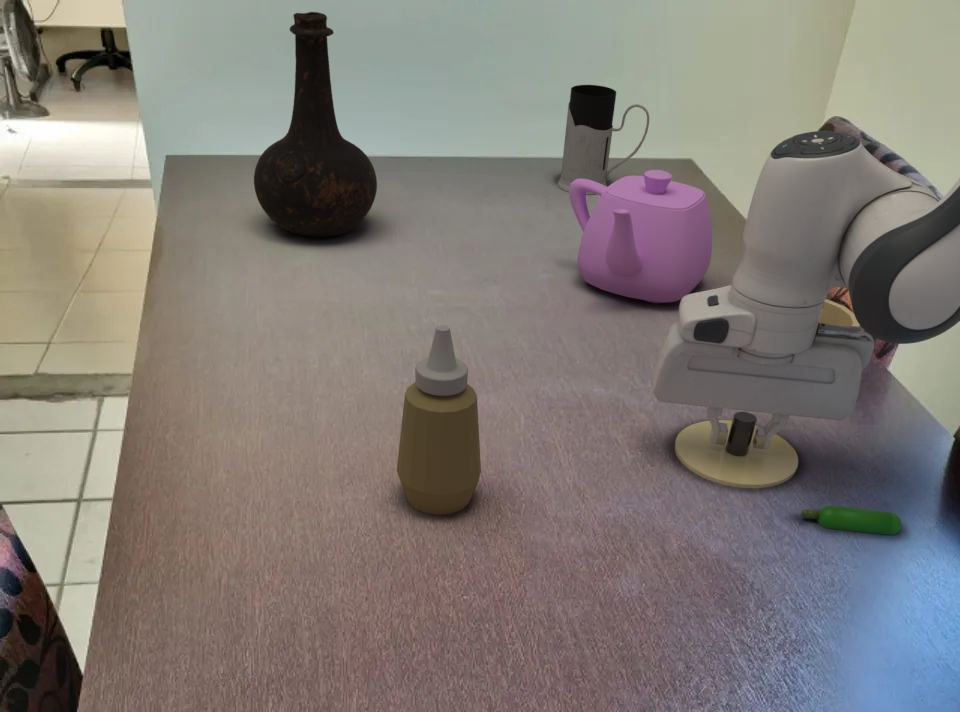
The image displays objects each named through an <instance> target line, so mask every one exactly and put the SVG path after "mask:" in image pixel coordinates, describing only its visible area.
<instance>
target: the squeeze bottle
mask: <svg viewBox="0 0 960 712" xmlns="http://www.w3.org/2000/svg"><path fill="white" fill-rule="evenodd" d="M414 368H415V369H414V371H415V373H414V376H415V380H414V381H415V382H413V383H412V384H410V385H409V386H408V387H407V388H406V391H405V393H404V398H403V399H404V400H403V409H402V416H401V417H402V418H401V427H400V437H399V445H398V454H397V455H398V456H397V462H396V463H397V464H396V473H397V476H398V479H399V482H400V483H401V486H402V489H403V491H404V495H405V497H406V499H407V503H408V504H409V505H410V506H411V507H412V508H414V509H415V510H417V511H419V512H422V513H424V514H426V515H427V514H428V515H434V516H435V515H436V516H443V515H453V514H454V513H457V512H460V511H462V510H463V509H464V508H466V507H467V506H468V505H469V503H470V501H471V498H472V496H473V494H474V492H475V490H476V487H477V485H478V483H479V481H480V477H481V474H482V464H481V463H482V462H481V447H480V427H479V426H480V425H479V408H478V407H479V406H478V395H477V393H476V391H475V389H474V387H472V386H471V385H470V384H469V383H468V381H469V380H468V378H469V377H468V376H469V368H468V366H467V364H466V363H465V362H464V361H462V360H460V359H459V358H456V354H455V350H454V344H453V338H452V333H451V328H450V326H448V325H446V324H439V325H437V326H435V331H434V334H433V339H432V343H431V347H430V351H429V355H428V357H425V358H422V359H420V360H419V361H418V362H417V363H416V366H415V367H414Z"/></svg>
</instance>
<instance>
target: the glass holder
mask: <svg viewBox="0 0 960 712" xmlns="http://www.w3.org/2000/svg"><path fill="white" fill-rule="evenodd" d="M616 98H617V91H616V90H615V89H614V88H611V87H608V86H604V85H597V84H578V85H574V86H572V87H571V88H570V95H569V102H568V104H567V105H568V106H567V113H566V123H565V134H564V142H563V143H564V144H563V153H562V162H561V173H560V177H559V180H558V181H557V187H558V188H560V189H561V190H562V191H565V192H566V193H569V188H570V185H571V183H572V182H573V181H574V180H576V179H581V178H582V179H588V180H592V181H595V182H597V183H600V184H602V185H605V186H607V187H608V184H607V180H608V179H609V174H610V173H611V172H612V171H614V170H615V169H616V168H618V167H619V166H621V165H623V164H624V163H625V162H627V161H628V160H629V159H631V158H632V157H633V156H635V155H636V154H637V152H638V151H639V150H640V148H641V146H642V145H643V143H644V141H645V140H646V136H647V134H648V130H649V125H650V114H649V111H648V109H647V108H646V107H645V106H644V105H642V104H638V103H635V104H631V105H629V106H628V107H627V108H626V109H625V110H624V113H623V116H622V118H621V124H620V127H618V128H614V126H613V122H614V115H615V107H616V106H615V105H616ZM633 108H640V109H641V110H643V111H644V112H645V115H646V126H645V129H644V133H643V135H642V138H641V140H640V142H639V144H638V145H637V147H636V148H635V149H634V151H632V152H631V153H630V154H628V156H627V157H625V158H624V159H623V160H621V161H619V162H618V163H617V164H615V165H614V166H612V167H611V168H610V169H609V170H608V168H609V159H610V152H611V145H612V138H613V132H620V131H621V130H622V129H623V128H624V127H625V121H626V117H627V114H628V112H629V111H630V110H631V109H633ZM589 195H590V196H592V195H593V196H594V195H596V194H595V193H592V192H587V193H586V196H589Z"/></svg>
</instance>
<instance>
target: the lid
mask: <svg viewBox="0 0 960 712" xmlns="http://www.w3.org/2000/svg"><path fill="white" fill-rule="evenodd" d="M718 420H719V423H726V424H727V429H728V435H727V438H726V443H725V445H719V444H711V442H710V434H711V430H712V426H711V423H710V421H709V420H704V421H699V422H696V423H693V424H690V425H688V426H685V428H683V429H682V430H681V431H679V433H678V434H677V436H676V439H675V442H674V453H675V455H676V457H677V458H678V460H679V462H680V463H681V464H682V465H683V466H684V467H686V469H688V470H689V471H691V472H692V473H694V474H696V475H698V476H699V477H701V478H704V479H705V480H708V481H710V482H713V483H716V484H720V485H723V486H727V487H733V488H739V489H765V488H771V487H776V486H778V485H781V484H783V483H785V482H788V481H789V480H790V479H791V478H793V476H794V475H795V474H796V472H797V470H798V466H799V456H798V454H797V452H796V450H795V449H794V447H793V446H792V445H791V444H790V442H788V441H787V440H786V439H784V438H783V437H782V436H780V435H778V434H777V433H776V434H775V435H774V436H772V437H771V441H770V444H769V447H768V449H758V448H753V436H754V435H755V429H756V427H760V426H759V425H757V421H758V417H757V416H756V415H755V414H753V413H751V412H749V411H737V412H735V413H734V414H733V417H732V419H731V420H729V419H728V420H727V419H718Z"/></svg>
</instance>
